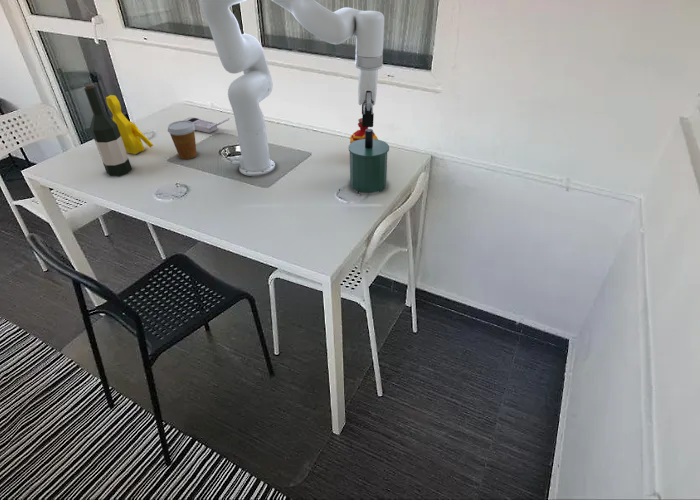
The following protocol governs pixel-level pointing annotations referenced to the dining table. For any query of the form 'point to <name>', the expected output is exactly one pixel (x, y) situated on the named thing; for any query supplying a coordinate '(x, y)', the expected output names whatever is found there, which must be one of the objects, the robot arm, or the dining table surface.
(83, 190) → the dining table surface
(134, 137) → the figure statuette
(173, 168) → the dining table surface
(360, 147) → the green disc with handle
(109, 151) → the wine bottle
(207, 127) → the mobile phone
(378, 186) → the green tube
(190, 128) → the disposable coffee cup
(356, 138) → the potion bottle
